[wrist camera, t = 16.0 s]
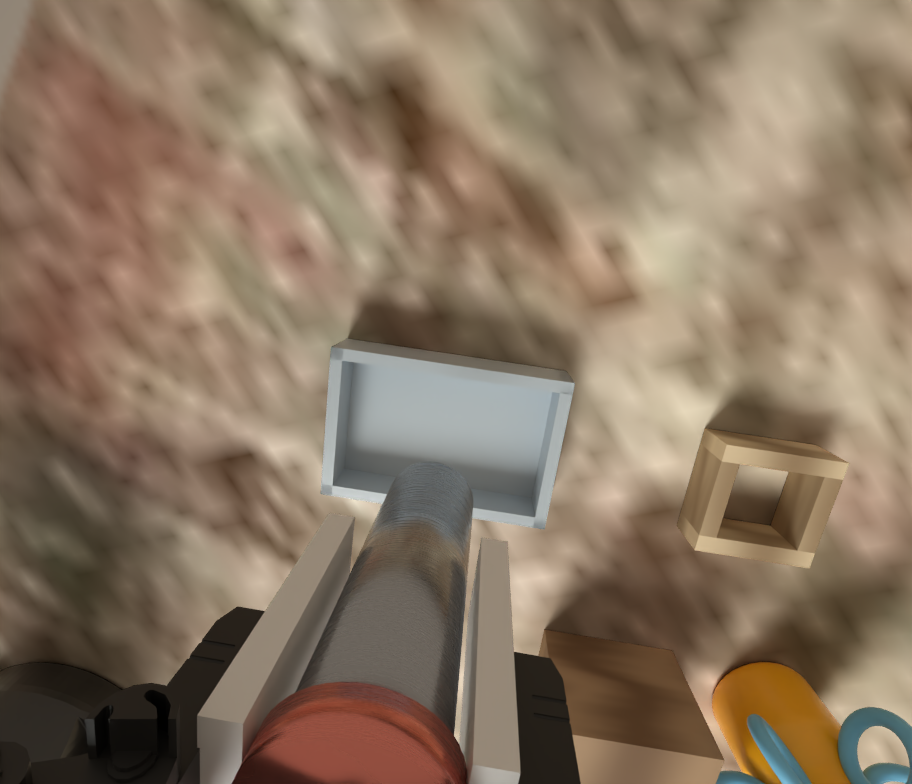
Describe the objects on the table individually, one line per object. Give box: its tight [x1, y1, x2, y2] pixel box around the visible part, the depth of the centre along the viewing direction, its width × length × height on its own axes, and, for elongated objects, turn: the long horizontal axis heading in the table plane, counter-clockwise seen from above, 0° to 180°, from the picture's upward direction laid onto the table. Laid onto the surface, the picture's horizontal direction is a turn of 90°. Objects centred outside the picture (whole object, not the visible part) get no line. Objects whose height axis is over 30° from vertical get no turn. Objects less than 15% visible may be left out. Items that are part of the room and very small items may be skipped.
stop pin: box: [232, 461, 474, 784], centre depth 13 cm, size 4×4×11 cm
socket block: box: [677, 428, 849, 568], centre depth 26 cm, size 6×6×2 cm
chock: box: [539, 629, 724, 784], centre depth 28 cm, size 8×5×7 cm, turn 82°
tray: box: [321, 339, 575, 529], centre depth 26 cm, size 12×8×3 cm, turn 82°
